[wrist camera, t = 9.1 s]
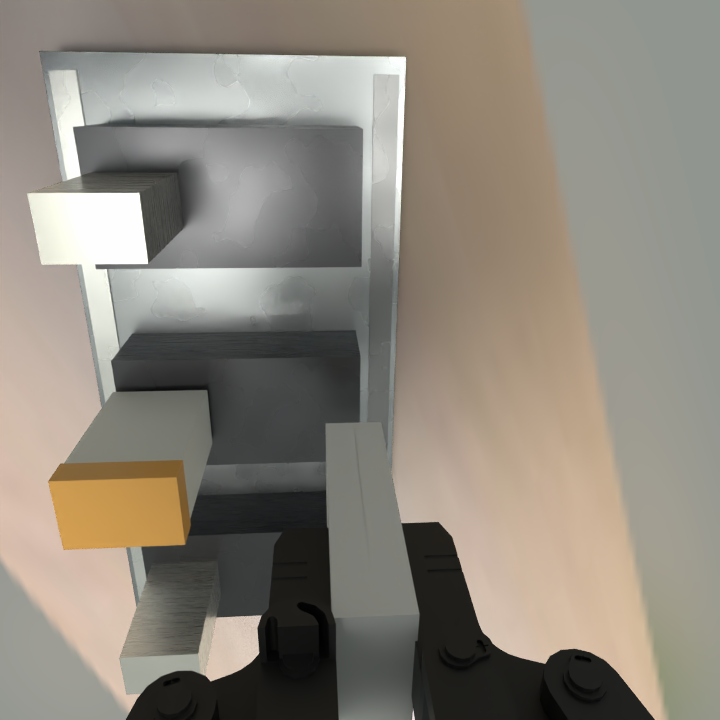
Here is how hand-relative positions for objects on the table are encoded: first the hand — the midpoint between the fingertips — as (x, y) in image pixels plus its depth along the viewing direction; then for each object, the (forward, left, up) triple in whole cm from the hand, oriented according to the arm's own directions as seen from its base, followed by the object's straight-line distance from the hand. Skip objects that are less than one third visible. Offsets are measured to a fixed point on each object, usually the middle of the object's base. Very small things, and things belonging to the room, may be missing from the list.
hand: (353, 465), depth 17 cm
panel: (+1, -4, -8) cm, 9 cm away
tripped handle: (+1, -6, -4) cm, 7 cm away
